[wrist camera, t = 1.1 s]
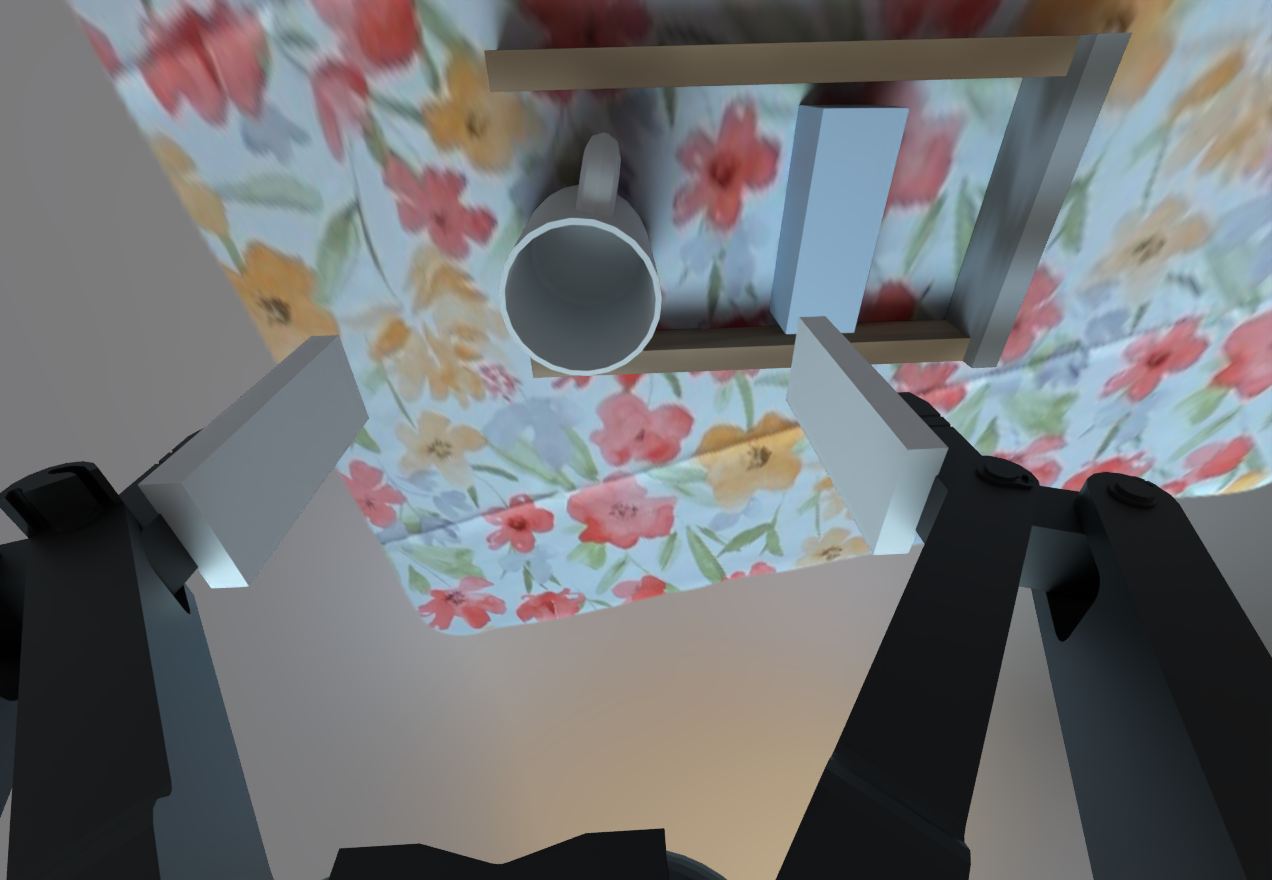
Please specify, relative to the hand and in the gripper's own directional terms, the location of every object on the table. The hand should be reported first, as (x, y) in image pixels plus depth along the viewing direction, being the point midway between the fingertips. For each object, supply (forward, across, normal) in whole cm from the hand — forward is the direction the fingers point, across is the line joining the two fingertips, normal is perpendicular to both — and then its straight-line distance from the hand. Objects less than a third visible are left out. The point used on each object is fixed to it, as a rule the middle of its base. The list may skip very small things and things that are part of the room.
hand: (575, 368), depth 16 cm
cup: (+18, 0, 0) cm, 18 cm away
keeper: (+18, +13, 0) cm, 22 cm away
